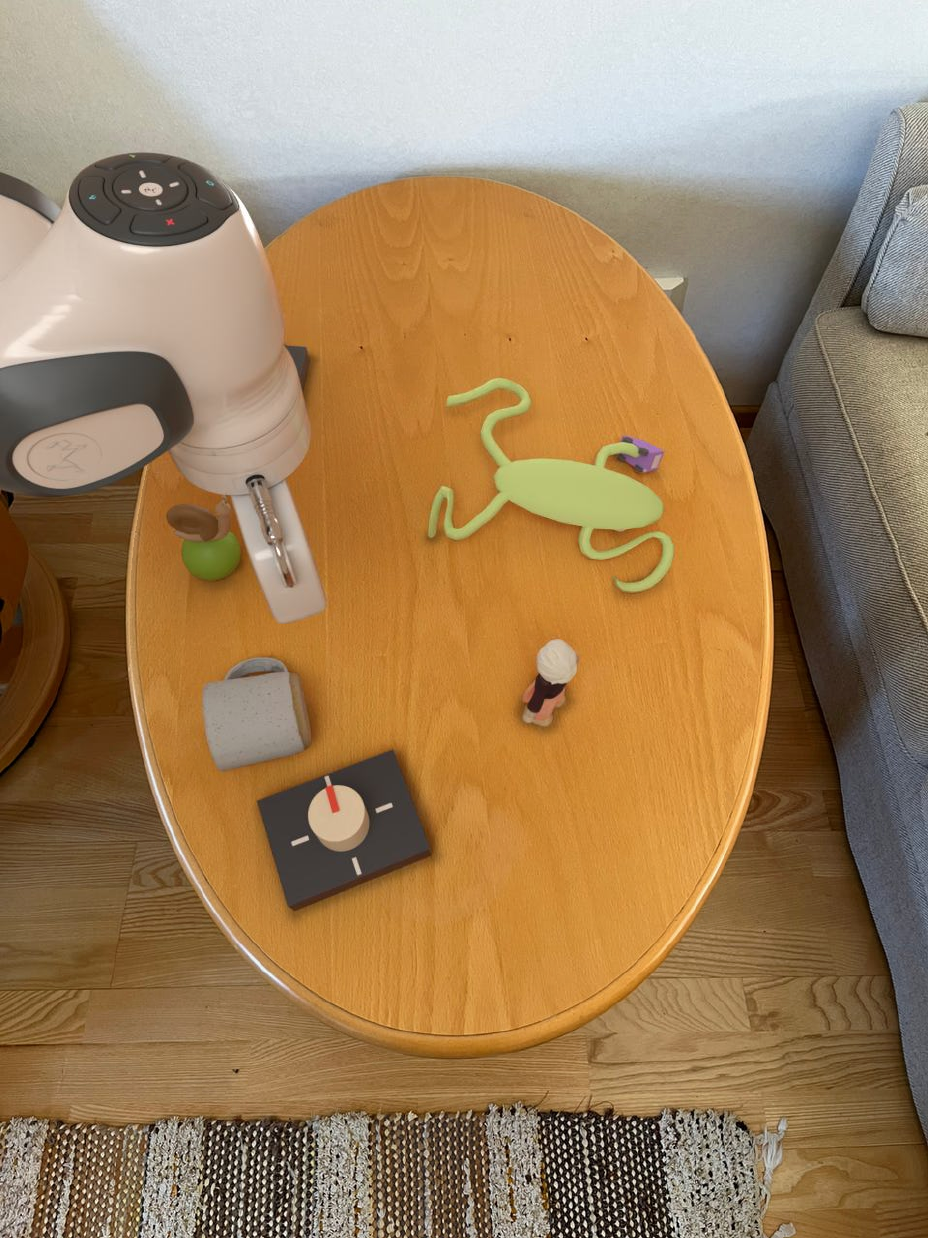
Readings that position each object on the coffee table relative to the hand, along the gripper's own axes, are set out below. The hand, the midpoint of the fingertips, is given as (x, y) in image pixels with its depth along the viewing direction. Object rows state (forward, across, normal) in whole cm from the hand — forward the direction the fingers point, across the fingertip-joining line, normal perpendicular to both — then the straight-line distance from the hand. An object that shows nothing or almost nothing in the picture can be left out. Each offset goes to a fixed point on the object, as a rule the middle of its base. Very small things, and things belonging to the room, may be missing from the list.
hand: (278, 539), depth 64 cm
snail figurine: (+17, +10, +6) cm, 21 cm away
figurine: (+18, +7, -27) cm, 33 cm away
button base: (+17, +30, -4) cm, 35 cm away
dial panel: (+17, -19, +3) cm, 26 cm away
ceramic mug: (+18, -6, +7) cm, 20 cm away
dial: (+14, -19, +3) cm, 24 cm away
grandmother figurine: (+18, -14, -17) cm, 29 cm away
